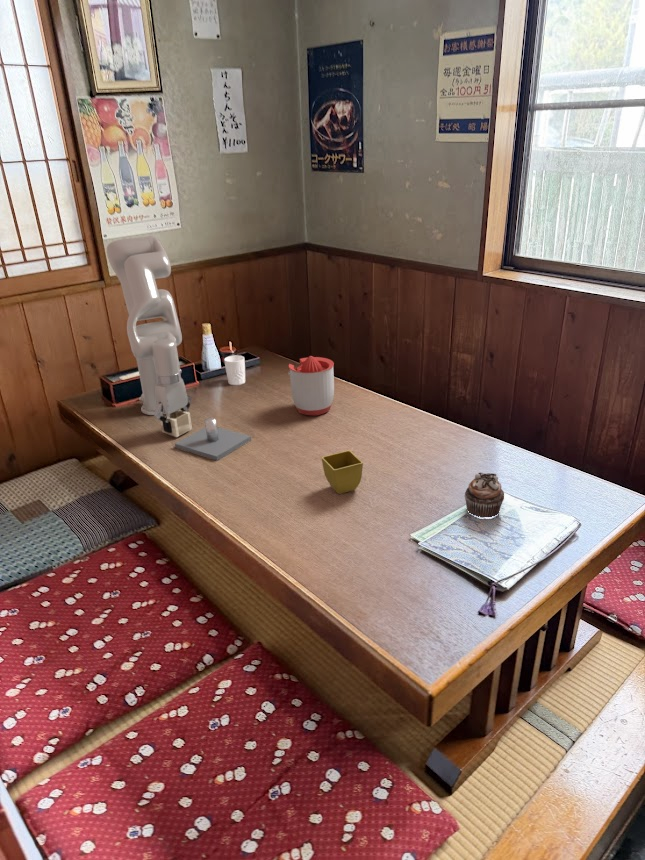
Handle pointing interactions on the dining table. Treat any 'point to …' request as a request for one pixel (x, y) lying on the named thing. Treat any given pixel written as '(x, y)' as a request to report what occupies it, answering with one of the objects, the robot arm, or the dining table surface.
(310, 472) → the dining table surface
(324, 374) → the citrus juicer
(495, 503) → the cupcake
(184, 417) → the birch collar
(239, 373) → the white cup
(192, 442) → the grey board
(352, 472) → the flower pot
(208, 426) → the grey cylinder
